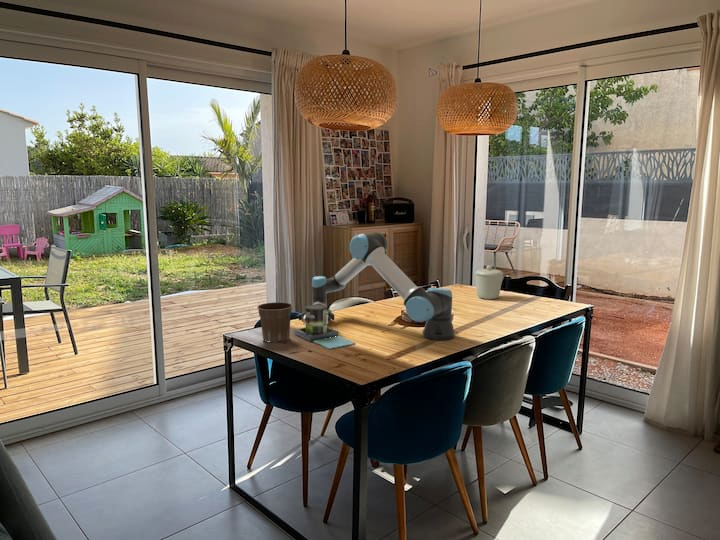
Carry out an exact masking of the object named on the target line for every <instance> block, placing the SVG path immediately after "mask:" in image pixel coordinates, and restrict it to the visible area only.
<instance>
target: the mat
mask: <svg viewBox="0 0 720 540" xmlns="http://www.w3.org/2000/svg"><path fill="white" fill-rule="evenodd" d="M312 343H314V344H317V345H318V344H319V345H318V346H320V345H321V347H323V348H325V349H327V350H329V349H330V350H334V349H339V348H343V346H344V347H348V345H349V346H352V345H353V344H354V345H356V342H354V341H351V340H349V339H347V338H344V337H342V336H340V335H338V336H336V337H331V338H326V339H320V340H315V341H312ZM338 347H339V348H338ZM333 348H334V349H333Z"/></svg>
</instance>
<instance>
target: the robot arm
mask: <svg viewBox="0 0 720 540" xmlns="http://www.w3.org/2000/svg"><path fill="white" fill-rule="evenodd" d="M388 245H389V243H388V240H387V238H386V237H385V235H384V234H382V233H380V232H370V233H359V234H357V235H355V236H353V237H352V238H351V240H350V243H349V251H350V255H351V256H352V257H353V258H352V259H351V260H349V262H348V263H346V265H344V266H343V267H342V268H341V269H340V270H339V271H337V273H335V274H334V275H333V276H332V277H330V278H327V277H326V276H322V275H318V276H316V275H315V276H314V277H312V280H311V296H312V297H311V300H312V301H311V302H312V303H311V305H314V304H319V305H325V306H327V307H328V302H327V294H328V293H334V292H340V291H342V290H344V289H345V288H346V285H347V284H348V283H349V282H350V281H351V280H352V279H354V277H355V276H357V275H358V274H359V273H360V272H361V271H363V270H364V269H365V268H366V267H367V266H372V267H373V269H374V270H375V271H376V272H377V273H378V274H379V275H380V276H381V277H382V278H383V280H385V282H386V283H387V284H388V285H390V287H391V288H392V289H393V290H394V291H395V292H396V293H397V294H398V295H399V297H401V298H402V299H403V305H404V306H405V310H406V311H405V312H406V315H407V317H409V318H410V319H411V320H412V321H414V322H416V323H422V322H423V323H424V322H425V324H424V328H423V330H422V336H423V338H426V339H428V340H433V341H448V340H453V339H454V338H455V337H456V332H455V329H454V324H453V322H452V318H453V317H452V316H453V312H452V311H453V293H452V292H453V291H452V290H451V289H447V288H441V287H440V288H439V287H428V288H427V290H425V288H423V287H422V286H417V285H416V284H415V283H414V282H413V281H412V280H411V279H410V278H409V277H408V275H406V273H404V271H403V270H402V269H400V268H399V267H398V266H397V264H396V263H395V262H394V261H393V260H391V258H390V257H389V256H388V255H387V253H386V251H387V250H388ZM298 320H299V321H301V322H302V323H303V325H306V310H303V311H302V312H301V313H300V314H298ZM331 321H335V314H334V313H333V312H332V310H327V316H326V324H327V325H328V324H329V322H331Z"/></svg>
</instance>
